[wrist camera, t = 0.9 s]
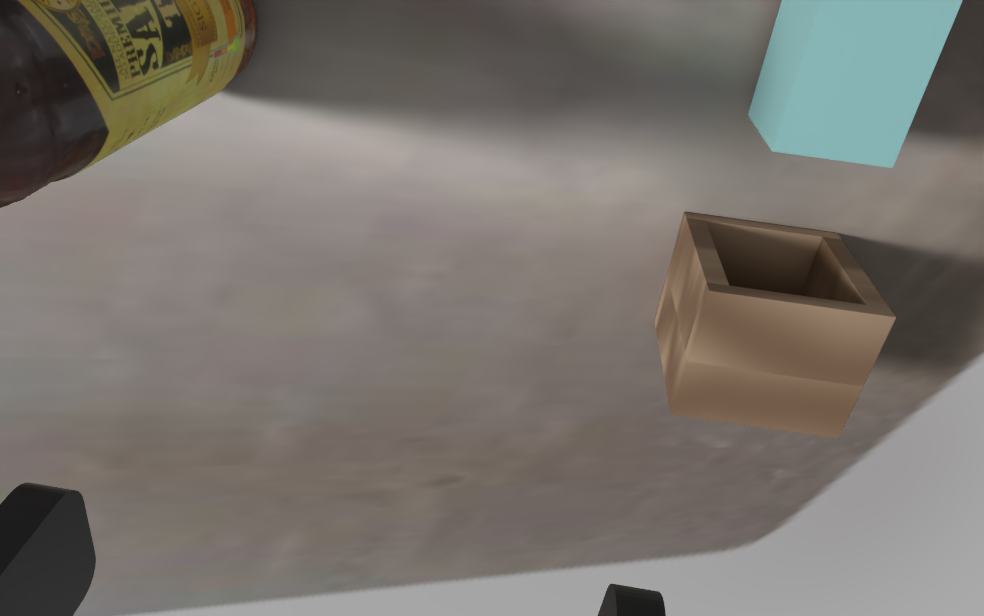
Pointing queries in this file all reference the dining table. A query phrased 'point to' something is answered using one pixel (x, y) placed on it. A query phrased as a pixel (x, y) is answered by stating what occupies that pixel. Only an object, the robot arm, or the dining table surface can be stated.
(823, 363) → the socket
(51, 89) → the sauce bottle
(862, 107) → the long turquoise beam
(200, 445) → the dining table surface
